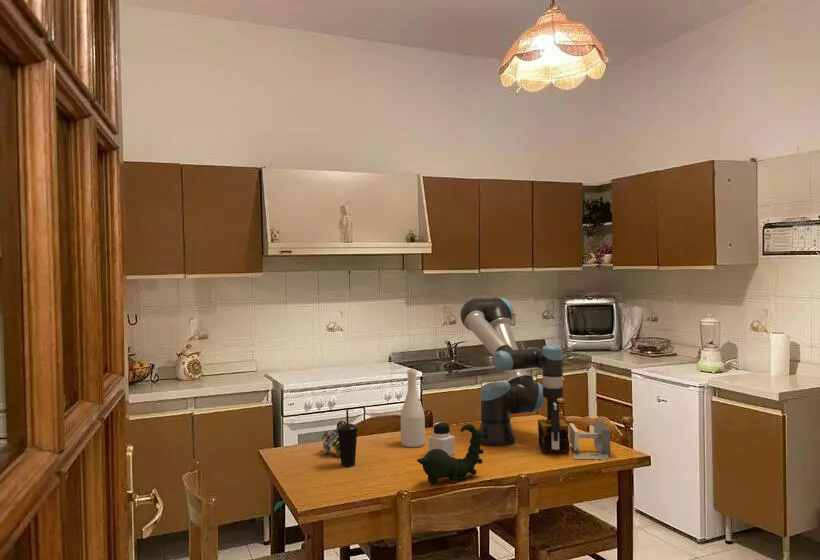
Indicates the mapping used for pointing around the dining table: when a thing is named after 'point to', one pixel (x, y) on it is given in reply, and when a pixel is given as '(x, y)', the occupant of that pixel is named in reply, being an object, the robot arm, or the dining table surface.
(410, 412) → the wine bottle
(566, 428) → the black and yellow cube
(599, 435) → the grey open frame block
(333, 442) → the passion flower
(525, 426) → the dining table surface
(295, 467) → the dining table surface
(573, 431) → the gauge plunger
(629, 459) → the dining table surface
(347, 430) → the drinking cup
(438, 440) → the medicine bottle
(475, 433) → the toy figurine
